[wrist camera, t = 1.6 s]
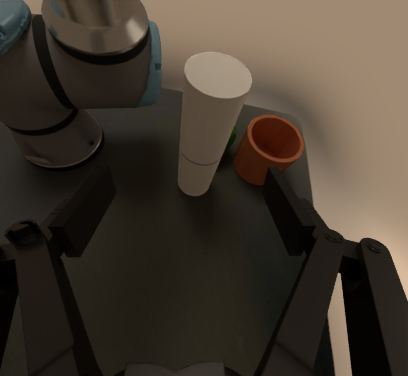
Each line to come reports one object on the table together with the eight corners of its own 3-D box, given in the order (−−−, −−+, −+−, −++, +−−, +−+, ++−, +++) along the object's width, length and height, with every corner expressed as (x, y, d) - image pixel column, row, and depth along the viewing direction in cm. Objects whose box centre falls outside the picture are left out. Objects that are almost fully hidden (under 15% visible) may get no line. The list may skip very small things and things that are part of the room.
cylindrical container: (190, 202, 40) (214, 108, 18) (171, 176, 42) (170, 62, 20) (216, 185, 43) (265, 84, 20) (197, 161, 45) (222, 45, 22)
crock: (224, 152, 47) (236, 123, 38) (261, 138, 51) (280, 108, 42) (250, 192, 43) (270, 171, 34) (288, 174, 47) (315, 150, 38)
